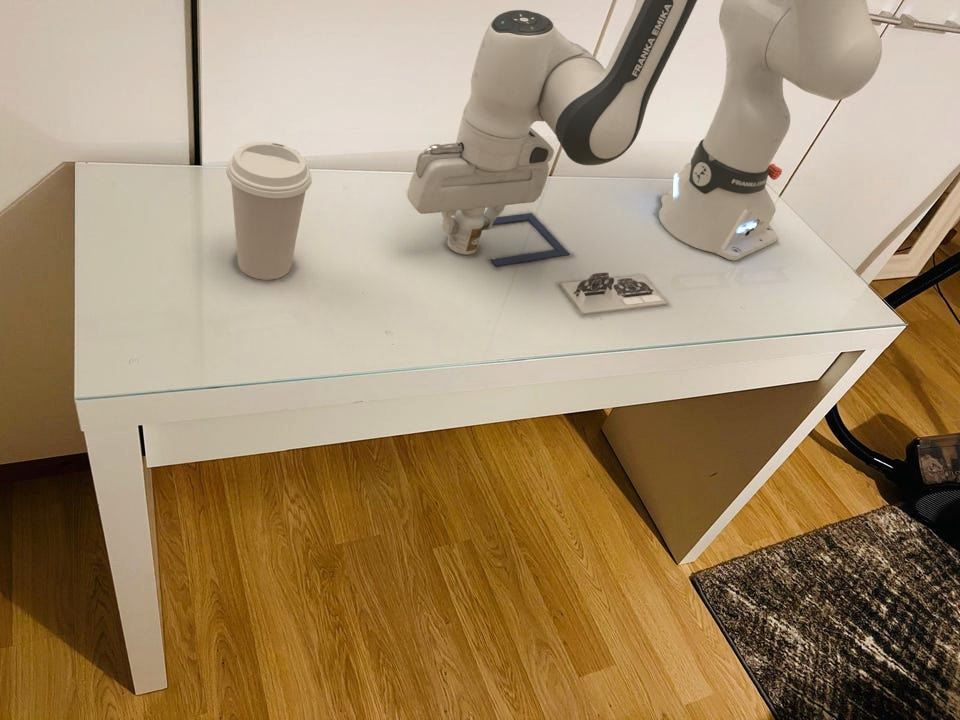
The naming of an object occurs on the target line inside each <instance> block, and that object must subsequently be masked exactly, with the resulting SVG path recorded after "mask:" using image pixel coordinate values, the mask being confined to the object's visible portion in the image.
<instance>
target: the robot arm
mask: <svg viewBox="0 0 960 720" xmlns="http://www.w3.org/2000/svg"><path fill="white" fill-rule="evenodd" d="M697 1H698V0H635V3H634V7H633V10H632V11H631V14H630V16H629V18H628V20H627V23H626V25H625V26H624V29H623V31H622V33H621V35H620V37H619V39H618V41H617V44H616V46H615V48H614V50H613V52H612V55H611V57H610V58H609V61H608V64H607V65H606V67H604V66H603V65H602V64H601V62H600V61H599V60H598V59H597V58H596V57H595V56H594V55H593V54H592V53H591V52H590V51H589V50H587V49H586V48H585V47H583V46H581V45H579V44H578V43H576V42H575V43H574V42H573V41H571V40H569V39H568V38H567V37H565V36H564V35H563V34H562V33H561V32H560V31H559V30H558V29H557V28H556V27H555V25H554V23H553V21H552V20H551V19H550V18H549V17H547V16H545V15H544V14H541V13H539V12H535V11H531V10H526V9H514V10H508V11H505V12H501V13H500V14H498V15H496V16H495V17H494V18H493V19H492V21H491V22H490V23H489V25H488V27H487V28H486V31H485V32H484V34H483V37H482V40H481V43H480V45H479V46H480V47H479V49H478V52H477V55H476V59H475V63H474V66H473V70H472V73H471V78H470V96H469V98H468V101H467V102H466V104H465V106H464V108H463V110H462V115H461V119H460V125H459V127H458V132H457V136H456V140H455V142H454V143H445V144H439V143H436V144H435V143H434V144H431V145H430V146H429V147H428V148H426V149H424V150H423V151H422V152H420V153H419V154H418V156H417V159H416V163H415V168H414V170H413V173H412V176H411V179H410V182H409V185H408V188H407V192H406V197H407V199H408V201H409V203H410V204H411V206H412V207H413V208H414V209H415V211H416V212H418V213H419V214H421V215H427V214H435V213H441V215H442V218H443V221H442V226H441V228H442V231H443V232H444V233H445V235H447V236H449V235H451V234H456V233H457V229H458V227H459V224H458V223H457V222H456V221H455V219H454V216H455V215H456V211H457V210H465V209H475V208H484V207H485V208H487V209H485V210H484V214H483V215H484V218H485V222H484V226H483V229H482V231H489V230H492V228H493V225H492V224H493V221H494V220H495V219H496V218H497V217H500V215H501V214H502V213H503V212H504V211H505V207H506V206H512V205H519V204H520V205H521V204H530V203H535V202H536V201H537V200H538V199H539V198H540V197H541V195H542V194H543V192H544V189H545V186H546V182H547V179H548V175H549V170H550V166H549V162H551V160H552V159H553V156H554V153H555V149H554V148H553V147H552V145H550V143H548V141H547V140H546V139H545V138H544V137H543V136H541V135H540V134H539V133H538V132H537V131H536V130H534V129H533V128H532V125H533V124H534V123H535V122H544V123H545V124H546V125H547V127H549V130H551V131H552V133H553V134H554V135H555V136H556V138H557V141H558V142H559V144H560V146H561V148H562V150H563V151H564V152H565V154H566V156H567V157H568V158H569V160H571V161H572V162H574V163H575V164H577V165H582V166H599V165H604V164H607V163H610V162H613V161H615V160H616V159H619V158H620V157H621V156H622V155H624V154H625V153H626V152H627V151H628V150H629V149H630V148H631V146H632V145H633V144H634V142H635V141H636V139H637V137H638V135H639V133H640V131H641V128H642V125H643V122H644V117H645V114H646V111H647V107H648V104H649V101H650V99H651V96H652V94H653V92H654V89H655V87H656V86H657V83H658V81H659V80H660V77H661V75H662V73H663V71H664V70H665V68H666V65H667V63H668V61H669V59H670V57H671V55H672V53H673V51H674V49H675V47H676V45H677V43H678V42H679V39H680V37H681V35H682V33H683V31H684V29H685V27H686V25H687V23H688V21H689V18H690V17H691V14H692V12H693V11H694V8H695V6H696V4H697ZM867 1H868V0H723V1H722V3H721V6H720V9H719V13H718V14H719V15H718V26H719V29H720V31H721V35H722V37H723V41H724V47H725V57H726V58H725V61H726V62H725V64H726V65H725V77H724V86H723V91H722V94H721V98H720V101H719V104H718V106H717V109H716V111H715V114H714V116H713V118H712V120H711V122H710V125H709V128H708V130H707V132H706V133H705V136H704V138H702V139H701V140H700V141H699V143H698V145H697V146H696V148H695V150H694V151H693V155H692V158H691V159H690V162H687V163H686V164H685V165H684V166H683V168H682V170H681V171H680V173H679V175H678V173H675V174H674V175H673V186H672V187H671V189H670V191H669V192H668V193H664V194H663V195H662V196H661V199H660V203H661V208H660V209H659V211H658V220H659V221H660V223H661V225H662V226H663V228H664V229H666V231H667V232H668V233H670V234H671V235H672V236H673V237H675V238H676V239H677V240H679V241H681V242H682V243H685V244H686V245H689V246H691V247H693V248H696V249H699V250H702V251H705V252H709V253H713V254H716V255H718V256H720V257H723V258H725V259H727V260H730V261H738V260H740V259H742V258H745V257H746V256H748V255H751V254H753V253H756V252H757V251H760V250H762V249H764V248H766V247H768V246H771V245H773V244H775V243H776V242H777V239H778V235H777V233H776V231H775V230H774V228H773V227H772V226H771V225H770V224H771V222H772V220H773V218H774V216H775V213H776V205H775V202H774V200H773V199H772V197H771V195H770V194H769V192H768V189H767V188H766V185H767V181H768V177H769V178H770V179H771V180H772V181H775V180H777V179H778V178H780V177H781V175H782V173H783V169H782V168H780V167H778V166H776V164H775V163H772V161H773V159H774V157H775V155H776V154H777V152H778V150H779V148H780V147H781V145H782V143H783V141H784V140H785V138H786V136H787V134H788V132H789V130H790V126H791V113H790V109H789V107H788V104H787V102H786V99H785V96H784V88H783V87H784V79H785V80H786V81H787V82H790V83H791V84H793V85H794V86H796V87H797V88H799V89H800V90H802V91H803V92H806V93H809V94H811V95H814V96H817V97H820V98H822V99H826V100H830V101H841V100H844V99H847V98H849V97H851V96H853V95H855V94H857V93H858V92H860V90H862V89H863V88H864V87H865V86H866V85H867V84H869V82H870V81H871V80H872V78H874V75H875V73H876V72H877V70H878V68H879V65H880V62H881V60H882V59H881V58H882V54H883V41H882V39H881V36H880V35H879V33H878V31H877V30H876V27H875V26H874V22H873V21H872V17H871V15H870V11H869V7H868V2H867Z"/></svg>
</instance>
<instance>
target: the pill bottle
mask: <svg viewBox="0 0 960 720" xmlns="http://www.w3.org/2000/svg"><path fill="white" fill-rule="evenodd" d="M485 211H486V207H484V208H475V209H465V210H457V211H456V215H455V216H453V218H454V219H455V221H456V222H457V223H458V224H459V227H458V229H457V233H456V234H451V235H448V238H447V240H446V241H447V246H448V247H449V249H450V250H451V251H452V252H455V253H457V254H460V255H473V254H474V253H476V251H477V249H478V246H479V242H480V240H481V236H482V233H483V230H482V229H483V226H484V222H485V218H484V215H483V214H484V213H485Z"/></svg>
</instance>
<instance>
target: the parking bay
mask: <svg viewBox="0 0 960 720" xmlns="http://www.w3.org/2000/svg"><path fill="white" fill-rule="evenodd" d="M520 222H521V223H522V222H529V223H530V224H531V225H532V226H533V227H534V229H536V231H537V232H538V233H539V234H540V235H541V236H542V237H543V239H545V240H546V241H547V243H548V244H550V246H551V247H552V248H553V249H549V250H543V251H542V250H541V251H536V252H529V253H523V254H517V255H509V256H503V257H497V258H491V259H490V262H491V263H492V265H493V266H494V267H495V268H499V267H504V266H511V265H512V266H513V265H518V264H523V263H531V262H536V261H542V260H549V259H555V258H561V257H567V256H570V252H569V251H568V249H566V248H565V247H564V246H563V245H562V244H561V242H560V241H558V239H557V238H556V237H555V236H554V235H553V234H552V233H551V232H550V231H549V230H548V229H547V228H546V227H545V225H544V224H542V223H541V221H540V220H538V219H537V217H536V216H535V214H533V213H532V212H526V213H520V214H519V213H518V214H512V215H504V216H498V217H497V218H496V219H495V220H494V221H493V224H492V226H496V225H497V226H498V225H506V224H513V223H520Z"/></svg>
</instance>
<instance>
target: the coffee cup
mask: <svg viewBox="0 0 960 720" xmlns="http://www.w3.org/2000/svg"><path fill="white" fill-rule="evenodd" d="M225 173H226V177H227V179H228V180H229V182H230V184H231V194H232V195H231V196H232V204H233V205H232V206H233V207H232V208H233V217H234V231H235V245H236V255H237V265H238V268H239V270H241V272H242V273H244V274H245V275H246V276H248V277H250V278H253V279H256V280H262V281H272V280H278V279H280V278H283V277H285V276H286V275H288V274H289V272H290V271H291V268H292V263H293V258H294V253H295V248H296V244H297V243H296V242H297V237H298V232H299V228H300V221H301V216H302V211H303V207H304V202H305V197H306V192H307V190H309V188H310V187H311V186H312V181H313V180H312V174H311V171H310V168H309V166H308V164H307V162H306V159H305V157H304V156H303V155H302V154H301V153H300V152H299V151H297V150H296V149H294V148H292V147H290V146H288V145H285V144H283V143H278V142H273V141H272V142H271V141H254V142H249V143H246V144H245V143H244V144H243V145H241V146H239V147H238V148H237V149H236V150H235V152H234V155H233V156H232V157H231V158H230V159H229V161H228V163H227V166H226V169H225Z"/></svg>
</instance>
